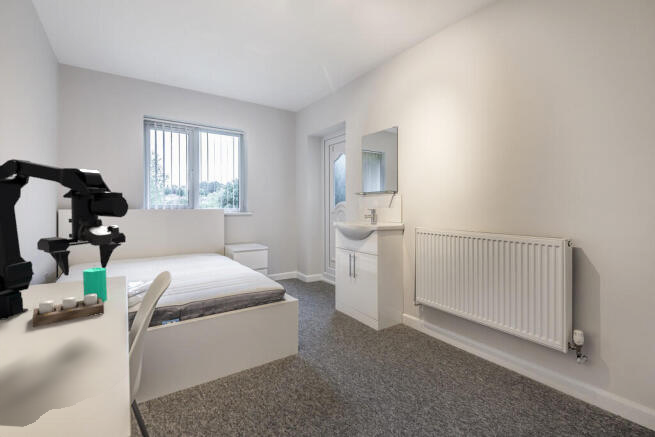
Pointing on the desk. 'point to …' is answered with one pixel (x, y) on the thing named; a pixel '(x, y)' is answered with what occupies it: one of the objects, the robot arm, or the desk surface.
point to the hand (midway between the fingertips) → (86, 271)
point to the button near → (46, 307)
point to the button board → (67, 313)
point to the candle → (95, 282)
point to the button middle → (69, 303)
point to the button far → (90, 299)
